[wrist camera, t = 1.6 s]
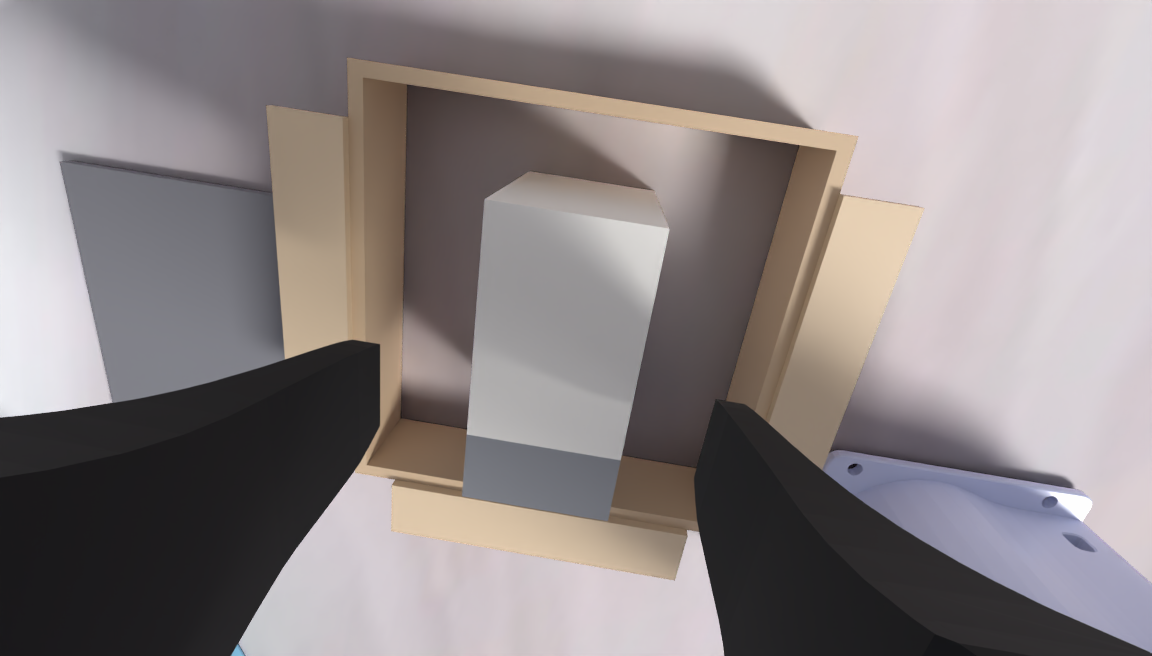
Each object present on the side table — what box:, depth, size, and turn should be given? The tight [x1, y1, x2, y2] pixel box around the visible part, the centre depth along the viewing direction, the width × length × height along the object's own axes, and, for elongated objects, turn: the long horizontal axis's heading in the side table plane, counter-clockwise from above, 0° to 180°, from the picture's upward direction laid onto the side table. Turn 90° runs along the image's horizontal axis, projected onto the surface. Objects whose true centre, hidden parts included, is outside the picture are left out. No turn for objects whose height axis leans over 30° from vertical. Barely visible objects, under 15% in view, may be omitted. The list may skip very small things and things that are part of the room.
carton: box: [266, 58, 924, 580], centre depth 17 cm, size 17×15×3 cm
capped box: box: [462, 171, 670, 521], centre depth 16 cm, size 4×8×6 cm, turn 172°
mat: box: [60, 161, 285, 403], centre depth 20 cm, size 9×11×1 cm
